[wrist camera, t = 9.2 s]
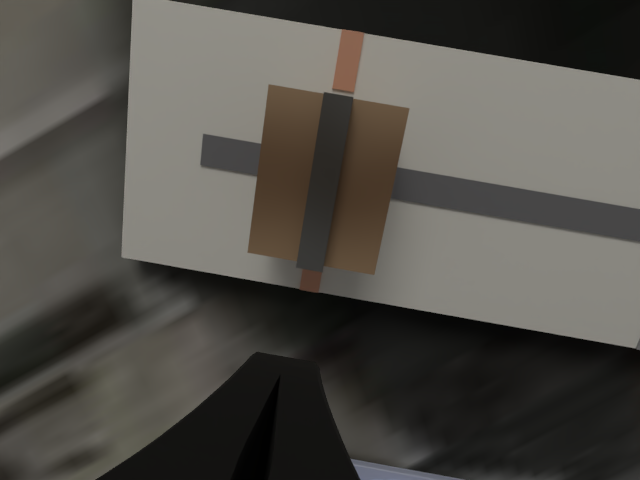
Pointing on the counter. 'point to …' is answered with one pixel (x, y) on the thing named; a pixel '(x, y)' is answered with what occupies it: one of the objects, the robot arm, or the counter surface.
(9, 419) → the counter surface
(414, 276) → the fader console
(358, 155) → the slider cap
